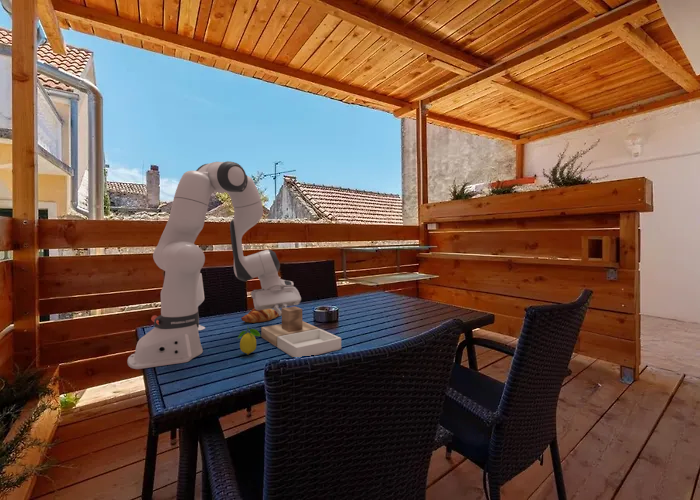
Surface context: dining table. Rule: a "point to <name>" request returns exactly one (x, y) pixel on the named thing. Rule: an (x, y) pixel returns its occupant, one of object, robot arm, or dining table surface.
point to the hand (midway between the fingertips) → (283, 314)
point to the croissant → (260, 315)
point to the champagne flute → (200, 296)
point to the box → (308, 343)
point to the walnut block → (292, 319)
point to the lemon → (248, 340)
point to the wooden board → (281, 332)
